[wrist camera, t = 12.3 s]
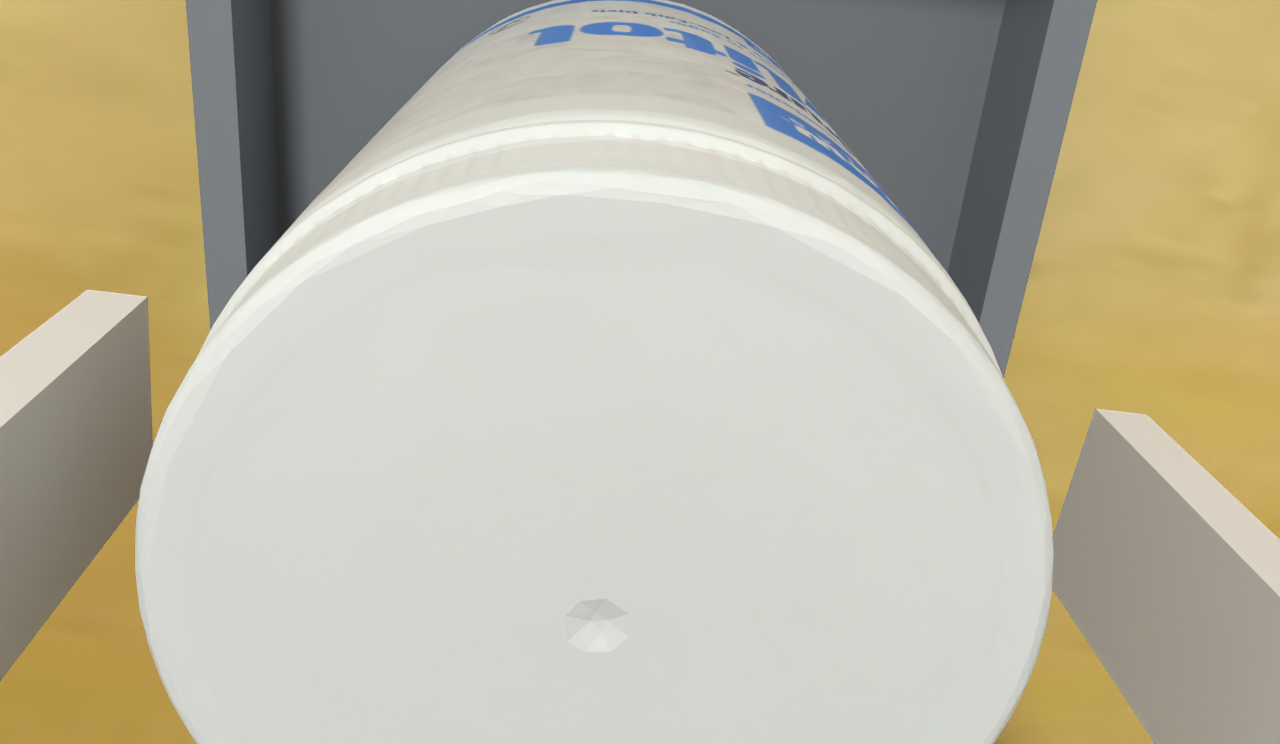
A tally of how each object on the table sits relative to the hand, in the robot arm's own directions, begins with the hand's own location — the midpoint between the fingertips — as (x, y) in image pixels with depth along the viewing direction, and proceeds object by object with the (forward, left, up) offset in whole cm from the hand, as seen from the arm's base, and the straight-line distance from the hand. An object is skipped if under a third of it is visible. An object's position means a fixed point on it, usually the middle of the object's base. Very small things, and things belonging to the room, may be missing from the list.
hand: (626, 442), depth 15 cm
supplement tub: (0, 0, -10) cm, 10 cm away
